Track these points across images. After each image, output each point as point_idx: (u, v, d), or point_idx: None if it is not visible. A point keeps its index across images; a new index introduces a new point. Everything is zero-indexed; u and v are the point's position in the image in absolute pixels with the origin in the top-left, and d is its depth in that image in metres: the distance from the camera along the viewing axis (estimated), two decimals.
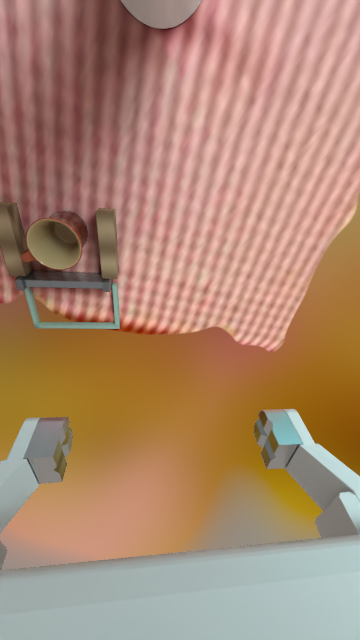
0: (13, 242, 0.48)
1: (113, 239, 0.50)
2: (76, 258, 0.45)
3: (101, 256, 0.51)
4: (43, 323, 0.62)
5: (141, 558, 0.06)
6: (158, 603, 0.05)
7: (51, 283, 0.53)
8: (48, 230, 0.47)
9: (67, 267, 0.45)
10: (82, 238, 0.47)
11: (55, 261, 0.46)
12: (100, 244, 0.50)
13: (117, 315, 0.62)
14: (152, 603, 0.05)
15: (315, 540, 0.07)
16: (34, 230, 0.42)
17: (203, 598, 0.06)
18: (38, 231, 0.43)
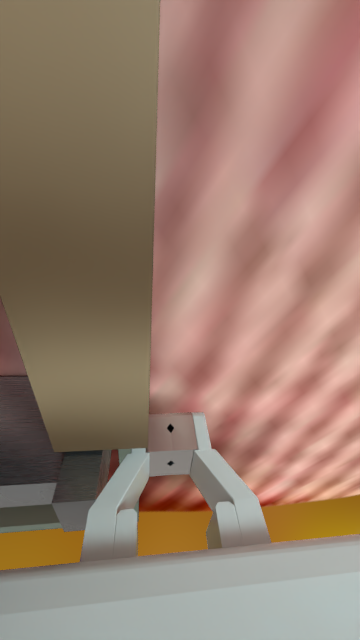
0: None
1: (144, 162, 0.04)
2: None
3: (27, 334, 0.06)
4: None
5: (141, 558, 0.06)
6: (158, 603, 0.05)
7: None
8: None
9: None
10: None
11: None
12: None
13: None
14: (152, 603, 0.05)
15: (315, 540, 0.07)
16: None
17: (203, 598, 0.06)
18: None
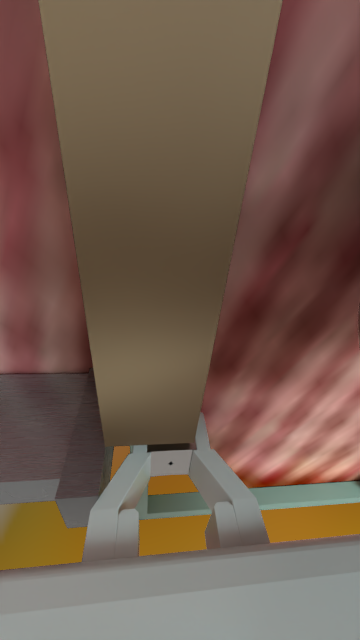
0: (212, 244, 0.05)
1: None
2: None
3: None
4: (159, 503, 0.19)
5: (141, 558, 0.06)
6: (158, 603, 0.05)
7: None
8: None
9: None
10: None
11: None
12: None
13: None
14: (152, 603, 0.05)
15: (315, 540, 0.07)
16: None
17: (203, 598, 0.06)
18: None
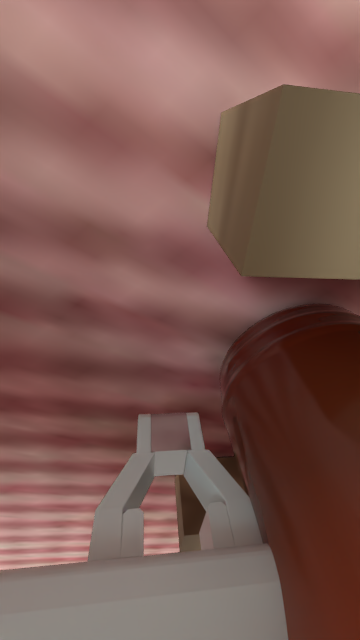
0: None
1: None
2: None
3: None
4: None
5: (141, 558, 0.06)
6: (158, 603, 0.05)
7: None
8: None
9: None
10: None
11: None
12: None
13: None
14: (152, 603, 0.05)
15: None
16: None
17: (203, 598, 0.06)
18: None
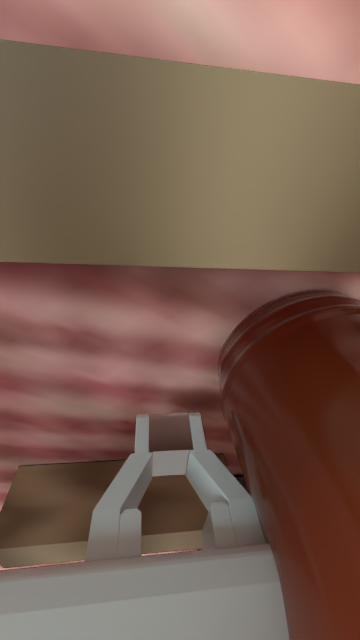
0: None
1: None
2: None
3: (164, 253, 0.05)
4: None
5: (142, 558, 0.06)
6: (158, 603, 0.05)
7: None
8: None
9: None
10: None
11: None
12: (35, 246, 0.05)
13: None
14: (152, 603, 0.05)
15: None
16: None
17: (203, 598, 0.06)
18: None
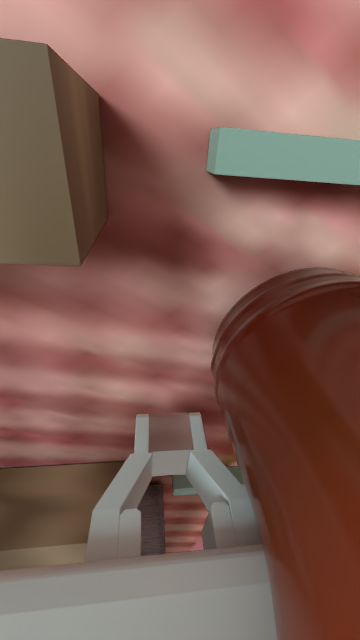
0: None
1: None
2: None
3: None
4: None
5: (141, 558, 0.06)
6: (158, 603, 0.05)
7: None
8: None
9: None
10: None
11: None
12: None
13: None
14: (152, 603, 0.05)
15: None
16: None
17: (203, 598, 0.06)
18: None
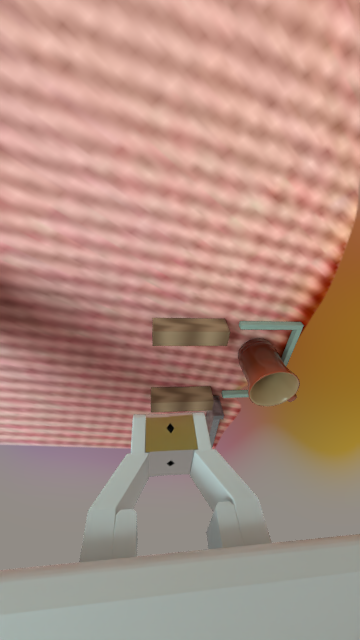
0: (180, 403, 0.53)
1: (181, 332, 0.43)
2: None
3: (200, 344, 0.44)
4: None
5: (141, 558, 0.06)
6: (158, 603, 0.05)
7: None
8: None
9: (295, 377, 0.42)
10: (260, 358, 0.45)
11: (290, 380, 0.45)
12: (186, 344, 0.44)
13: (283, 326, 0.48)
14: (152, 603, 0.05)
15: (315, 540, 0.07)
16: (263, 399, 0.46)
17: (203, 598, 0.06)
18: (263, 393, 0.47)
